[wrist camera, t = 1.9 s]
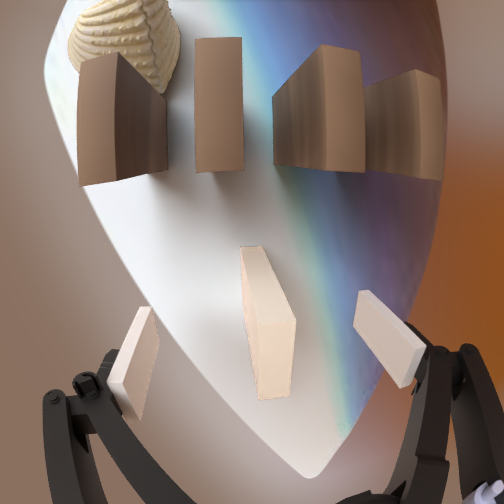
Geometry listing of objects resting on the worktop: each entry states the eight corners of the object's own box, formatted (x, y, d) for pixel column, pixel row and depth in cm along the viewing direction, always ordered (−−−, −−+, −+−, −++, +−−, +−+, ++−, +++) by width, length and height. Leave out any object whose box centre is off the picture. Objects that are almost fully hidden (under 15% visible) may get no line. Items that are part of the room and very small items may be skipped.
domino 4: (273, 164, 18) (326, 170, 9) (272, 96, 17) (321, 44, 7) (295, 164, 19) (365, 172, 9) (294, 98, 17) (359, 51, 8)
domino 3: (242, 305, 22) (258, 400, 13) (240, 246, 20) (258, 323, 11) (262, 304, 22) (289, 396, 13) (261, 245, 20) (296, 320, 11)
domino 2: (209, 166, 18) (196, 172, 9) (207, 97, 16) (195, 39, 7) (232, 165, 18) (244, 170, 9) (230, 96, 17) (241, 37, 7)
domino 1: (146, 171, 18) (79, 187, 8) (145, 104, 16) (80, 62, 7) (168, 169, 18) (116, 181, 8) (166, 101, 16) (118, 51, 7)
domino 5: (332, 165, 19) (419, 178, 10) (331, 101, 17) (415, 69, 8) (351, 166, 19) (443, 181, 10) (350, 104, 17) (439, 78, 8)
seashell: (151, -33, 10) (210, -29, 8) (159, 45, 18) (209, 74, 16) (49, 8, 7) (65, 17, 6) (77, 86, 15) (106, 128, 14)
